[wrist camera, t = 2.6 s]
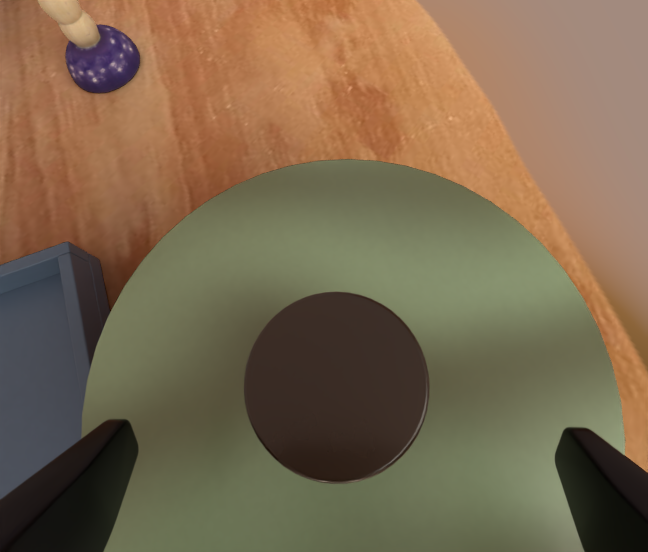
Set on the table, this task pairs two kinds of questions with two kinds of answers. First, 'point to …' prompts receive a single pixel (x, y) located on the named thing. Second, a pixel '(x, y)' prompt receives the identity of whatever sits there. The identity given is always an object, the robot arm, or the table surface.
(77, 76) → the toy lamp
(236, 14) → the table surface
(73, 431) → the tray
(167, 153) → the table surface
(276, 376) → the basket lid
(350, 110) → the table surface
